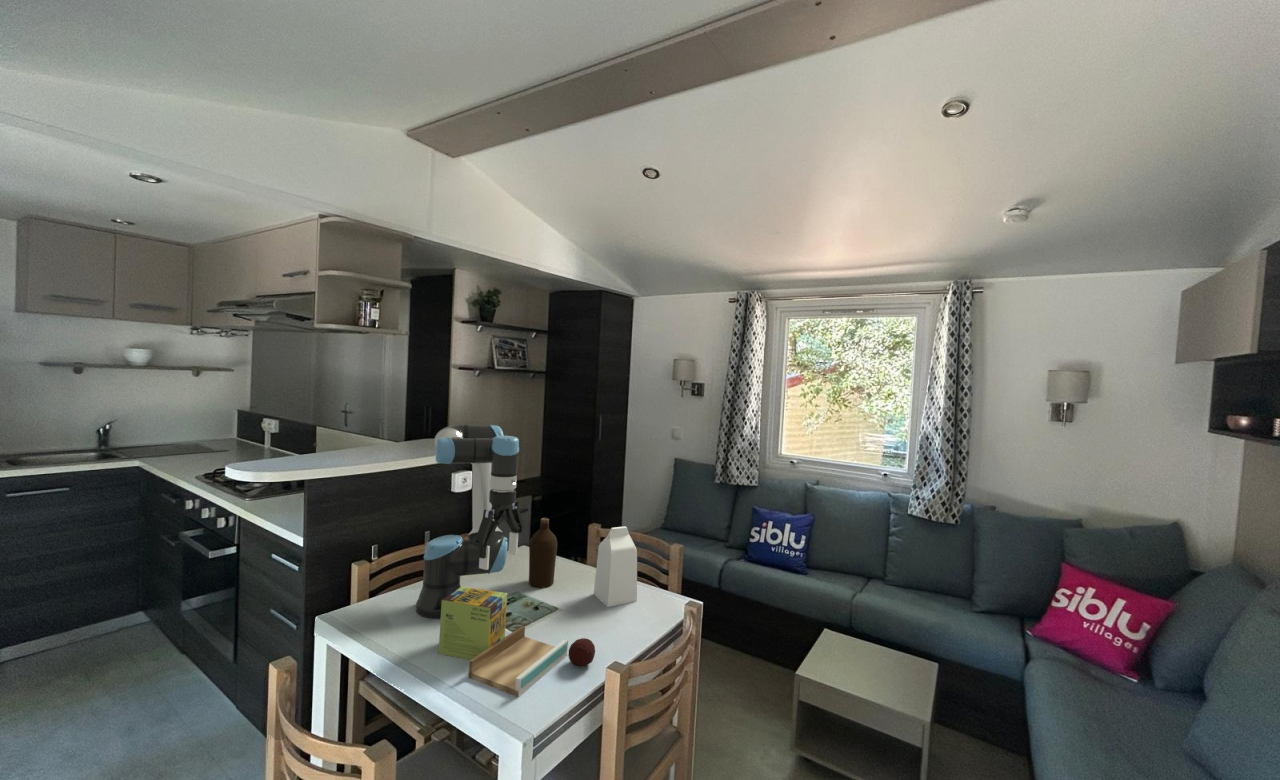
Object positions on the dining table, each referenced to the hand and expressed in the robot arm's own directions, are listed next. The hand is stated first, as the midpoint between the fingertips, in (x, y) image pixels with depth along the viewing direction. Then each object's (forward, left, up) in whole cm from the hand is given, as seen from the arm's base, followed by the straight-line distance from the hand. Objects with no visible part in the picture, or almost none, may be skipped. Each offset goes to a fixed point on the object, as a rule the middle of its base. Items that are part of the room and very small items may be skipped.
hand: (498, 561), depth 148 cm
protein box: (-4, -5, -25) cm, 26 cm away
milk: (+15, +48, -25) cm, 56 cm away
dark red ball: (+27, +4, -25) cm, 37 cm away
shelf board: (+13, -5, -25) cm, 29 cm away
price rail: (+21, -5, -25) cm, 33 cm away
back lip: (+6, -5, -25) cm, 26 cm away
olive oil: (-15, +44, -25) cm, 53 cm away
